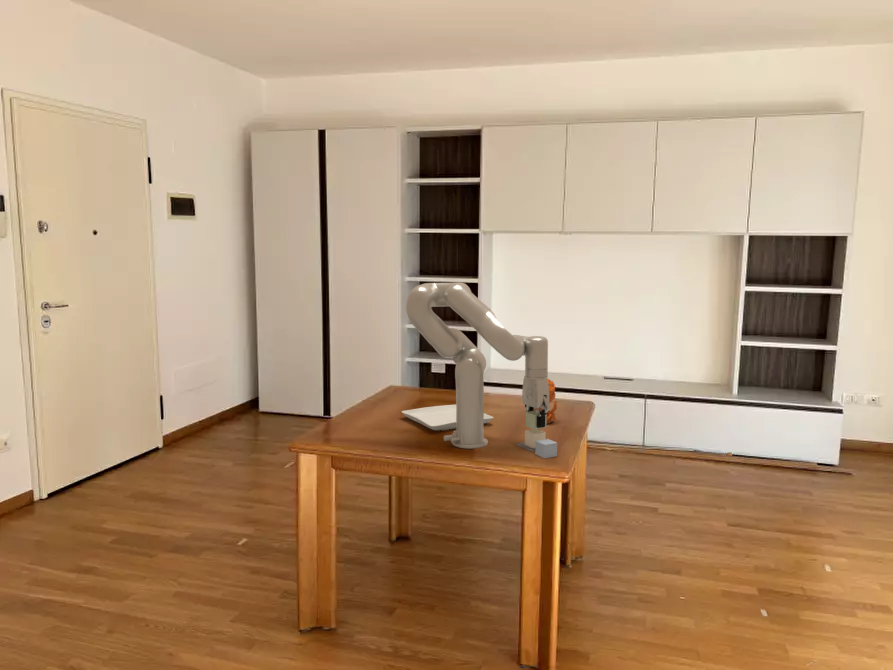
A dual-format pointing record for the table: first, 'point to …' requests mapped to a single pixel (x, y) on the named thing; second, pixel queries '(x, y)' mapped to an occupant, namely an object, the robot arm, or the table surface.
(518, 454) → the table surface
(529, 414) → the pale green cube
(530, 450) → the mat
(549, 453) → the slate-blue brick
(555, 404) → the orange sculpted figure
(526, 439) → the beige cube
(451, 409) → the square plate
